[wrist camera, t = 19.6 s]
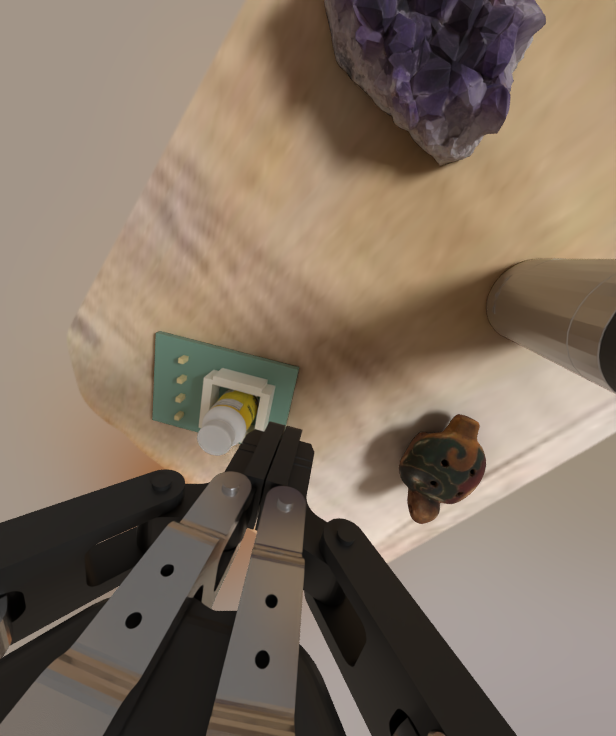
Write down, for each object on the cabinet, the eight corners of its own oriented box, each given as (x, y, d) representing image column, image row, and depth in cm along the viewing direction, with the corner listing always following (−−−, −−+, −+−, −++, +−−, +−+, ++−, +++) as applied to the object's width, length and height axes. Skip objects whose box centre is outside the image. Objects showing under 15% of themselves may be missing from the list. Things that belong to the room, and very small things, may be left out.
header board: (299, 367, 41) (294, 378, 37) (280, 450, 46) (274, 467, 42) (160, 331, 42) (141, 338, 38) (156, 416, 47) (139, 430, 43)
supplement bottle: (256, 423, 44) (231, 467, 35) (220, 412, 44) (187, 452, 35) (264, 391, 42) (240, 428, 33) (227, 379, 42) (193, 413, 33)
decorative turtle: (380, 480, 46) (384, 518, 38) (421, 392, 41) (435, 416, 34) (442, 503, 45) (459, 547, 38) (490, 416, 41) (521, 447, 33)
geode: (287, 69, 31) (265, -40, 21) (358, -56, 28) (371, -248, 18) (445, 194, 32) (494, 146, 22) (526, 85, 29) (623, -24, 19)
